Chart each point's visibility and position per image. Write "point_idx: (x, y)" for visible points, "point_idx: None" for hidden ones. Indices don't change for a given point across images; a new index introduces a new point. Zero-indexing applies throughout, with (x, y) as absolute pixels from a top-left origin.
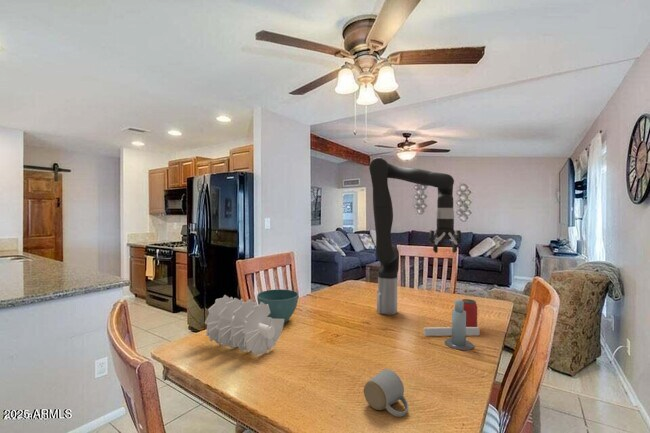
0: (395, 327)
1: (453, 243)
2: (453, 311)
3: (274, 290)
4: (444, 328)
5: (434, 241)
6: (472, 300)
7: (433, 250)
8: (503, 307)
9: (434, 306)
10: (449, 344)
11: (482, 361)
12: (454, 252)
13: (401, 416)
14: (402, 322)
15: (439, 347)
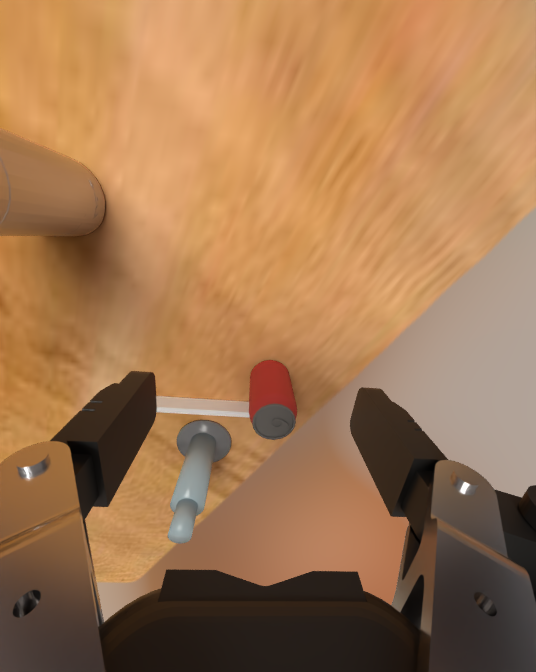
0: (83, 344)
1: (423, 496)
2: (172, 505)
3: None
4: (189, 413)
5: (11, 512)
6: (292, 415)
7: (104, 394)
8: (523, 205)
9: (279, 147)
10: (182, 445)
11: (212, 492)
12: (353, 426)
13: None
14: (109, 310)
15: (160, 448)
